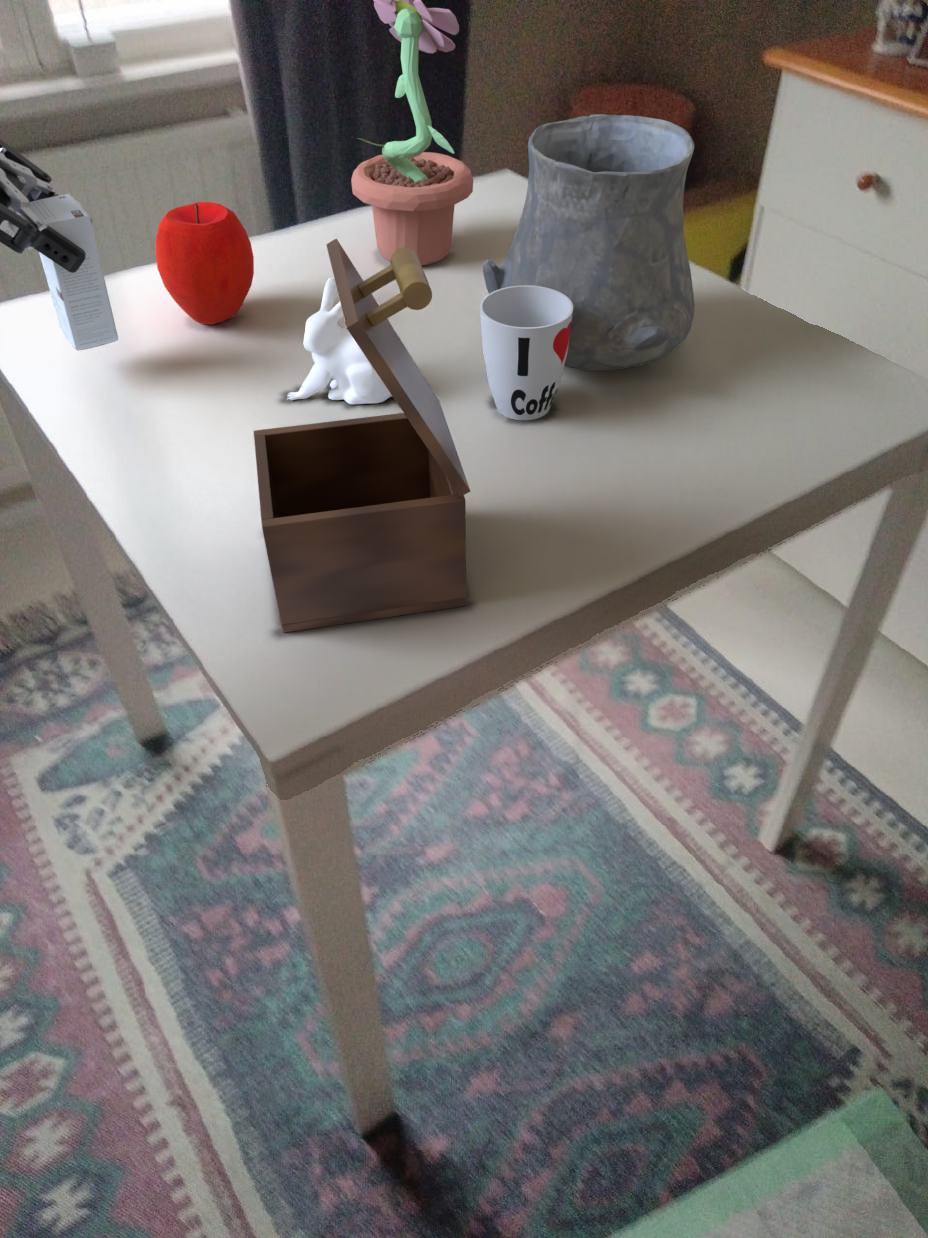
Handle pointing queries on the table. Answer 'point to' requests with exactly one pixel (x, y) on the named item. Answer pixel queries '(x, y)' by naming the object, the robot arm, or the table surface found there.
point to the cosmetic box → (77, 276)
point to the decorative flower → (414, 149)
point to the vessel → (607, 236)
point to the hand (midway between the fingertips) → (83, 246)
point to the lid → (397, 347)
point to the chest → (358, 522)
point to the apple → (205, 260)
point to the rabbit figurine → (337, 358)
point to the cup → (525, 347)
